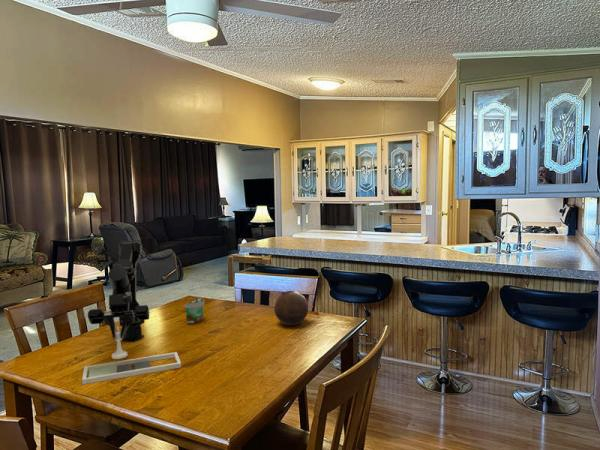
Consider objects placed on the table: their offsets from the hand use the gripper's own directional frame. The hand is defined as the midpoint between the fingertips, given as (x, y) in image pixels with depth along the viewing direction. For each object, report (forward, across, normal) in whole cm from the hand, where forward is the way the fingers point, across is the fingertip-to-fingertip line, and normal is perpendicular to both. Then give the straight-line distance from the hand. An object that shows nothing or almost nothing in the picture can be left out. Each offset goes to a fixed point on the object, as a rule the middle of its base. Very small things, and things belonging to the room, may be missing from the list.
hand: (117, 337), depth 139 cm
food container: (-26, +26, +45) cm, 58 cm away
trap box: (+7, +4, +11) cm, 13 cm away
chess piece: (+4, 0, +6) cm, 7 cm away
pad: (+8, -5, +10) cm, 13 cm away
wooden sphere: (-15, +67, +33) cm, 76 cm away
